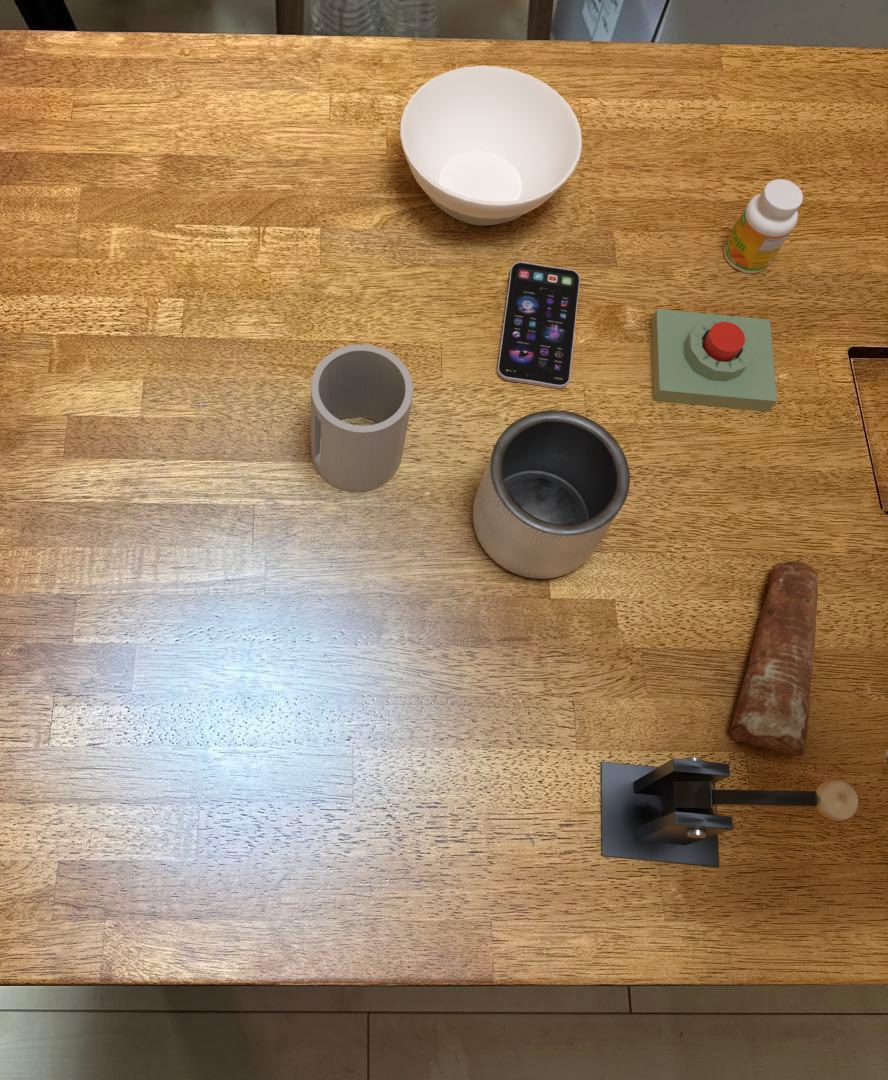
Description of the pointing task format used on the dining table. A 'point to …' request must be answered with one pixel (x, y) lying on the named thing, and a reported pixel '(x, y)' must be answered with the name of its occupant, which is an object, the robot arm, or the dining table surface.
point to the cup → (359, 391)
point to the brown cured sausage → (780, 664)
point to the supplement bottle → (763, 227)
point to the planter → (549, 493)
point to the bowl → (489, 142)
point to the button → (724, 341)
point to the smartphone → (539, 325)
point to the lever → (767, 798)
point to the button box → (711, 362)
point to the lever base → (659, 813)
